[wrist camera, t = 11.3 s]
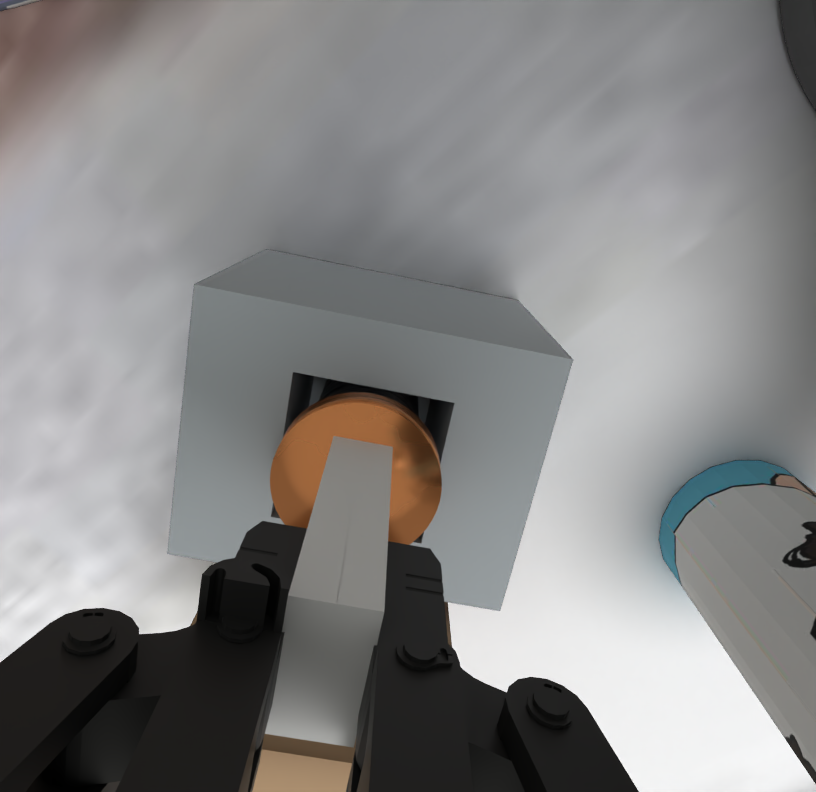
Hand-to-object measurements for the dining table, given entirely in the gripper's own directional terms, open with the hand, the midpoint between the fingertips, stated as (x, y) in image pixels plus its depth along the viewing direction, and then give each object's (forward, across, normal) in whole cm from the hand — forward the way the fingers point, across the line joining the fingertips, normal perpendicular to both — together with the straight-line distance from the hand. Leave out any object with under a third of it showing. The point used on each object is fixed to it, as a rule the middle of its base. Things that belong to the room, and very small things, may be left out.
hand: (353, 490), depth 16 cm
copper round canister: (+7, 0, 0) cm, 7 cm away
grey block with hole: (+11, 0, 0) cm, 11 cm away
